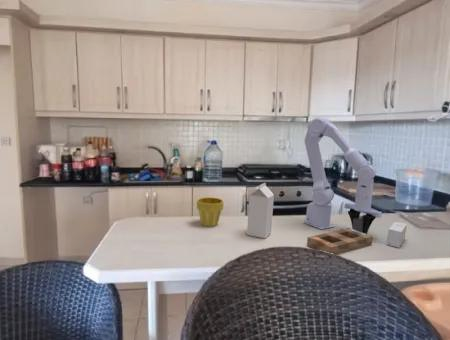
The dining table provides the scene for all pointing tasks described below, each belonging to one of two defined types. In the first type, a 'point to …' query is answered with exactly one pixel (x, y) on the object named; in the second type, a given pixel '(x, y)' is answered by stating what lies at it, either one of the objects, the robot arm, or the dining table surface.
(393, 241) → the skincare box
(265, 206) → the milk carton
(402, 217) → the dining table surface
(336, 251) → the brown flat rectangular frame
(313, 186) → the robot arm
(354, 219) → the plug
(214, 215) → the plant pot
